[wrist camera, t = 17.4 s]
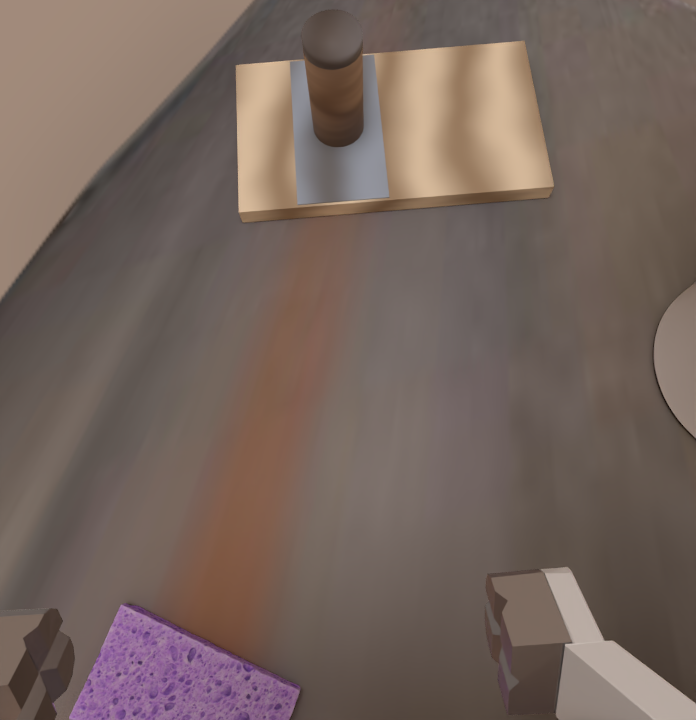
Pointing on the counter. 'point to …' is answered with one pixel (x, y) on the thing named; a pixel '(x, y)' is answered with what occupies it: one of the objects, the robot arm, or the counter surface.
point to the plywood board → (394, 136)
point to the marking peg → (334, 76)
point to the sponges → (176, 677)
